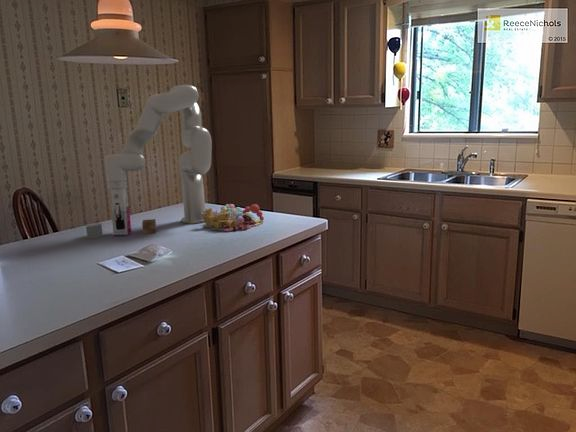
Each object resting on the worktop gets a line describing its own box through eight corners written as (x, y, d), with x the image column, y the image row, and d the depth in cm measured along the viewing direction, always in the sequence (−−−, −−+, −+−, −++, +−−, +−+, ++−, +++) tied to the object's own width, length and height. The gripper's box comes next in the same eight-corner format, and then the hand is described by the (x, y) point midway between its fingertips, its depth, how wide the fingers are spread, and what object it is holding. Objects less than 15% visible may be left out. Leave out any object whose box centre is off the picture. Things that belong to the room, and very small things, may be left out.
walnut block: (156, 230, 208) (155, 219, 207) (155, 233, 203) (154, 221, 202) (144, 231, 207) (143, 220, 206) (143, 234, 202) (142, 222, 201)
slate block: (102, 234, 204) (101, 223, 203) (100, 237, 199) (99, 225, 198) (90, 235, 203) (88, 223, 202) (87, 238, 198) (86, 226, 197)
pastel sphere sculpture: (236, 235, 197) (235, 213, 195) (193, 229, 209) (191, 208, 207) (270, 221, 217) (269, 201, 215) (229, 216, 230) (228, 197, 227)
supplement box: (127, 235, 200) (124, 208, 197) (113, 236, 200) (110, 209, 198) (132, 232, 206) (129, 205, 203) (118, 232, 206) (115, 206, 203)
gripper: (123, 187, 190) (128, 231, 195) (129, 181, 207) (133, 221, 211) (103, 188, 189) (109, 233, 193) (111, 182, 206) (115, 223, 210)
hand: (121, 226), depth 202 cm, fingers closed on supplement box, 6 cm apart
